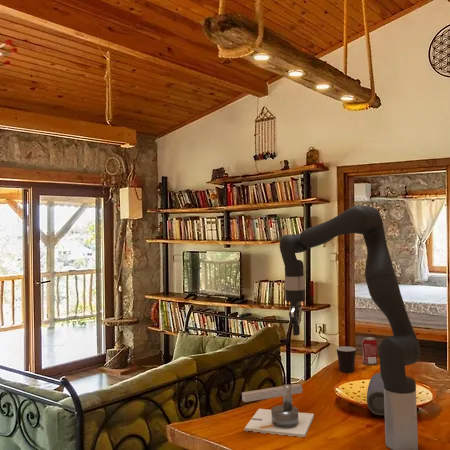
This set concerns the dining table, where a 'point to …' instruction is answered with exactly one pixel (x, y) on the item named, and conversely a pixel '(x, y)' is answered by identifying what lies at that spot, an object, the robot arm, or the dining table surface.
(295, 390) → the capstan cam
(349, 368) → the coffee mug
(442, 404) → the dining table surface
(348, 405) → the dining table surface
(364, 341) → the soda can
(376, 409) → the bluetooth speaker
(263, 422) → the board
